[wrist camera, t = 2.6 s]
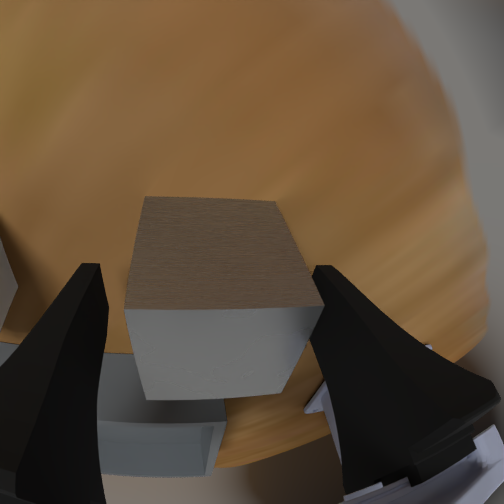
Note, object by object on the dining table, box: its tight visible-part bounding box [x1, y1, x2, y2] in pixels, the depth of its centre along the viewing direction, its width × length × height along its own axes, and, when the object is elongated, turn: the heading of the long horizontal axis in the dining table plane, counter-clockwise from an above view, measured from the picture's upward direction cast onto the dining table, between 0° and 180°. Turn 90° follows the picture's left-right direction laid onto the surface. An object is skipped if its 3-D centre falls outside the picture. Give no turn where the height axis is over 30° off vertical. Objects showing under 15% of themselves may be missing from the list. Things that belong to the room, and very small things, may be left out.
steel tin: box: [124, 196, 325, 400], centre depth 10 cm, size 4×4×5 cm
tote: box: [0, 342, 227, 477], centre depth 17 cm, size 16×16×4 cm
